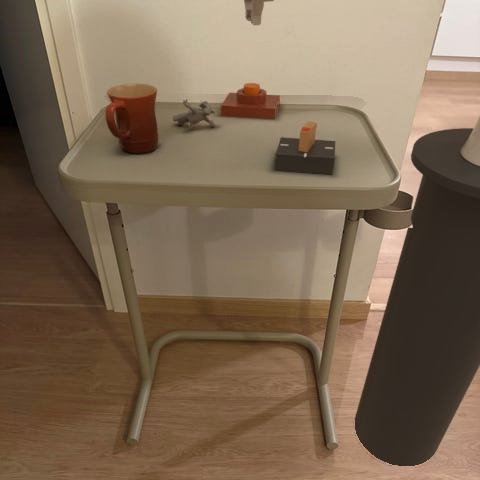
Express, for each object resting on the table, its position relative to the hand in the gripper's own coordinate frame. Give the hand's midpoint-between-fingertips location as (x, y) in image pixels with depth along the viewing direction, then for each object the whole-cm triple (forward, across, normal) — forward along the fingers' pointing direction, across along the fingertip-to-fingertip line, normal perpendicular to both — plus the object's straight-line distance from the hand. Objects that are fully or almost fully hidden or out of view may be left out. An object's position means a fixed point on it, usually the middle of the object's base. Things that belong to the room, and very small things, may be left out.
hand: (253, 22), depth 95 cm
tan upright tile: (+14, +31, +3) cm, 34 cm away
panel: (+17, +31, +3) cm, 36 cm away
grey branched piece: (+17, +10, -15) cm, 25 cm away
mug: (+17, +19, -27) cm, 37 cm away
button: (+13, 0, 0) cm, 13 cm away
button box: (+17, 0, 0) cm, 17 cm away
